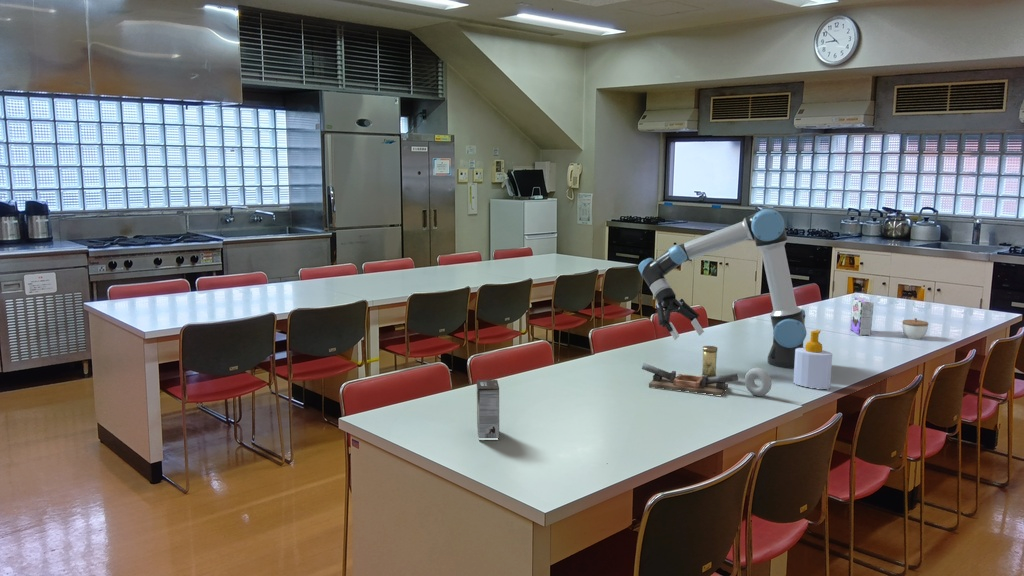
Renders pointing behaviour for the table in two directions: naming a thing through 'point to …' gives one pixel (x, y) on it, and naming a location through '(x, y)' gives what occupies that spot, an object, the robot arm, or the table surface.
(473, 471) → the table surface
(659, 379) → the shaft stand
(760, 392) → the donut
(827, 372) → the soap bottle
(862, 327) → the candy box
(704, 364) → the cylinder
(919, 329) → the lidded jar
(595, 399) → the table surface
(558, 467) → the table surface
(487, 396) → the coffee box
